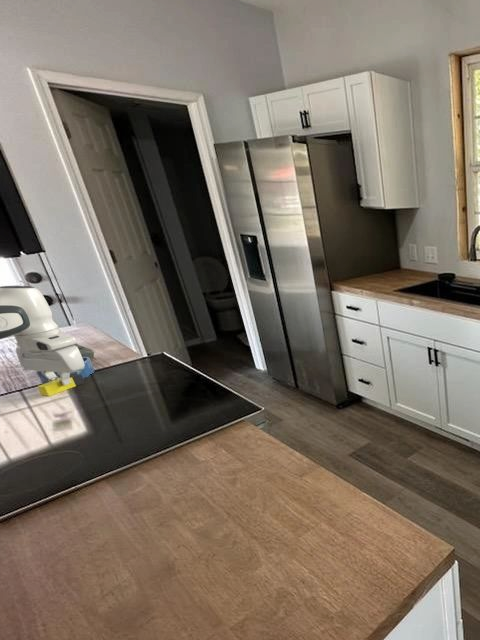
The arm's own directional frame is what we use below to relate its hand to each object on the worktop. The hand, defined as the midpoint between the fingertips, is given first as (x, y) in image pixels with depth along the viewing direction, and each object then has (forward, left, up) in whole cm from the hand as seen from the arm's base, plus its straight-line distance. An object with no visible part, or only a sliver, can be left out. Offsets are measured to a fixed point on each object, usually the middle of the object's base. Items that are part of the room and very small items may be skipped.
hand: (61, 383), depth 124 cm
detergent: (+18, +25, -2) cm, 31 cm away
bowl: (+7, +9, -2) cm, 12 cm away
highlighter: (0, 0, -2) cm, 2 cm away
